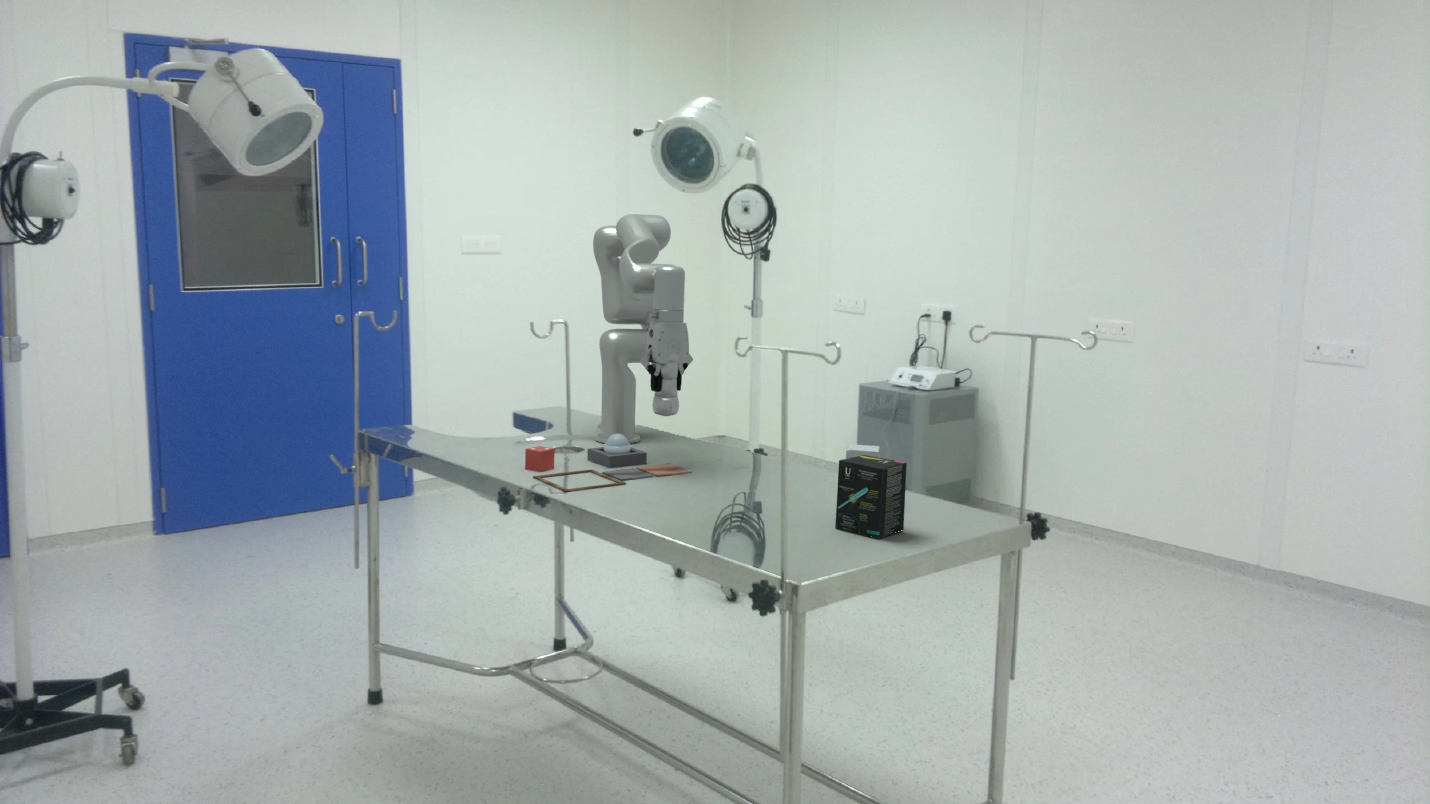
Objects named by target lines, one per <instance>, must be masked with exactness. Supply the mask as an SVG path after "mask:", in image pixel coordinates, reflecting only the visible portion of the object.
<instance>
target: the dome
mask: <svg viewBox="0 0 1430 804" xmlns="http://www.w3.org/2000/svg"><path fill="white" fill-rule="evenodd" d="M631 444H632V443H631ZM631 444H629V443H628V440H627V439H626V437H625V436H624V435H622V434H613V435H611V436H610V437H609V438H608V440H607V443H603V447H604V452H606V453H609V454H612V455H614V454H623V453H630V448H631V447H632V446H631Z"/></svg>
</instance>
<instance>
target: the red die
mask: <svg viewBox="0 0 1430 804" xmlns="http://www.w3.org/2000/svg"><path fill="white" fill-rule="evenodd" d="M524 451H525V454H524V455H525V456H524V457H525V458H524V459H525V463H524V466H525V467H524V469H525V470H528V471H534V472H539V473H542V472H545V471H549V470H553V469H555V448H554V447H547V446H542V445H537V446H532V447H528V448H525V450H524Z"/></svg>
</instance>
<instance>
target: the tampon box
mask: <svg viewBox="0 0 1430 804" xmlns="http://www.w3.org/2000/svg"><path fill="white" fill-rule="evenodd" d="M906 481H907V462H905V461H898V460H894V459H888V458H883V457H879V458H878V457H873V456H867V455H862V456H857V457H851V458H848V459H846V458H843V459H839V461H838V473H837V489H836V490H837V493H836V494H837V495H836V505H835V506H836V509H835V511H836V512H835V526H834V529H835V530H840V531H844V532H847V533H851V532H852V534H855V535H859V534H860V536H863V535H865V536H864V537H868V536H872V537H875V538H874V539H876V538H880V539H882V537H883V536H886V537H888V536H887V535H889V536H892V535H895V534H896V533H895V532H898V531H901V530H903V531H904V530H905V529H904V528H905V527H904V523H905V508H906V507H905V503H906ZM901 532H902V531H901ZM894 533H895V534H894ZM898 533H899V532H898ZM891 534H892V535H891ZM872 537H871V538H872ZM883 538H884V537H883Z"/></svg>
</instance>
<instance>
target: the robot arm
mask: <svg viewBox="0 0 1430 804" xmlns="http://www.w3.org/2000/svg"><path fill="white" fill-rule="evenodd" d="M671 233H672V232H671V226H670V223H669V222H668V220H667V218H665V217H664V216H662V215H659V214H658V215H657V214H637V213H636V214H635V213H634V214H633V213H632V214H626V215H624V216H622V217H620V218H619V219H618V221H617V223H616V225H605V226H601V227H599V228H597V229H596V231H595V232H594V235H593V240H592V241H593V242H592V248H593V249H592V250H593V254H594V256H593V257H594V258H595V261H596V264H597V268H598V271H599V275H600V280H601V281H600V283H601V299H602V300H601V301H602V313H603V317H604V320H605V321H606V322H607V323H608V324H612V325H633V326H634V325H635V326H636V325H640V327H641V328H612V329H608V330H605V331H604V332H603V333H602V334H601V335H600V338H599V344H598V345H599V353H600V359H601V361H600V362H601V412H600V413H601V415H600V417H601V418H600V419H601V421H600V423H598V424H597V429H599V430H600V433H598V434H595V441H597V442H598V443H603V444H605V443H607V440H608V438H609V437H610V436H611V435H613V434H622V435H624V436H625V437H626V439H627V440H628V443H631V444H635V443H634V442H636V443H638V441H639V440H640V441H641V436H640V435H638V434H636V430H635V429H636V427H635V426H636V403H637V402H636V401H637V400H636V399H637V396H636V395H637V394H636V393H637V379H636V375H635V373H634V372H633V370H631V368H630V367H629V366H628V364H641V365H642V366H643V367H644V369H645V370H646V371H647V372H648V374H649V375H650V390H651V391H652V392H654V393H655V392H660V385H661V377H660V376H659V372H660V369H661V364H668V363H669V362H668V358H669V356H670V355H671V354H673V353H675V354H676V353H677V355H678V357H679V361H678V363H679V368H678V377H677V392H679V391H682V383H683V382H682V379H683V375H684V374H685V371H686V370H687V369H688V367H689V365H691V364H692V362H693V361H694V358H693V356H692V355H691V354H690V341H689V340H690V339H689V331H688V324H687V323H686V322H684V320H685V319H684V318H685V317H684V316H685V315H684V314H685V313H684V311H685V288H686V286H685V282H686V272H685V270H684V268H683V267H681V266H677V265H674V264H670V263H669V264H667V263H653V262H655V260H657V258H658V256H659V254H660V252H661V251H662V250H663V249H664V248H666V247H667V246H668V244H669V243H670V240H671V236H672V235H671ZM619 257H620V258H619ZM655 365H656V367H655ZM640 441H639V442H640Z"/></svg>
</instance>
